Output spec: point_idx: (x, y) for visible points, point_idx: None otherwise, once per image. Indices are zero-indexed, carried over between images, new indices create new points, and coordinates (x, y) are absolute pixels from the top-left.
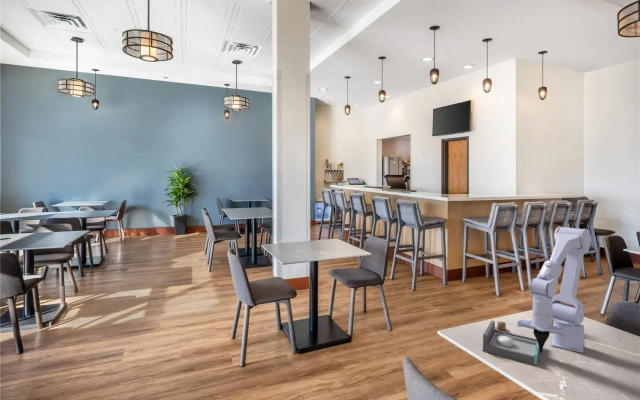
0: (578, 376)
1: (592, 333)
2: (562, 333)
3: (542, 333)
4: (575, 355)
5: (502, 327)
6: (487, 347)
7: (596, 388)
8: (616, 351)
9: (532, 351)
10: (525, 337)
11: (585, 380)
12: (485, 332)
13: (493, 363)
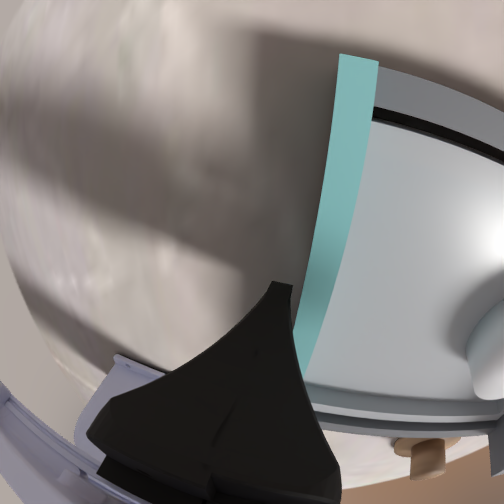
0: (75, 83)
1: None
2: (7, 413)
3: (178, 484)
4: (128, 333)
5: (431, 457)
6: None
7: (34, 22)
8: (74, 367)
9: (351, 294)
10: (356, 427)
11: (55, 62)
12: None
13: None
